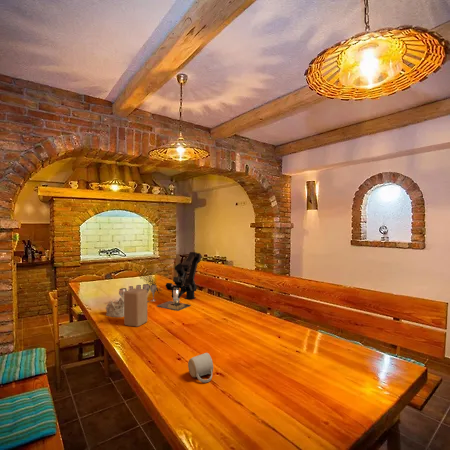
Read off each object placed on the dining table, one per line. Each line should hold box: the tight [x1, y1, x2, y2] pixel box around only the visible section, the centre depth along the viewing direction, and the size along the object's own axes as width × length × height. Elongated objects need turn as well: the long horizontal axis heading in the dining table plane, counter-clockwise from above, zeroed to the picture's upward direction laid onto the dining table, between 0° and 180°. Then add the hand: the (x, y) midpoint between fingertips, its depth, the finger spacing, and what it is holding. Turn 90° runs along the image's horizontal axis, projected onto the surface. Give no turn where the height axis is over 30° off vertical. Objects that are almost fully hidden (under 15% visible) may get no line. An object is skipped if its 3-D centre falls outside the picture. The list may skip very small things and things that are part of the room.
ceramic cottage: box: [105, 293, 124, 318], centre depth 193 cm, size 16×16×15 cm
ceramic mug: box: [187, 352, 214, 384], centre depth 113 cm, size 11×8×8 cm
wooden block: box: [123, 287, 148, 328], centre depth 173 cm, size 10×10×20 cm
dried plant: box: [128, 258, 163, 294], centre depth 249 cm, size 30×31×45 cm
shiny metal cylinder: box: [172, 287, 181, 306], centre depth 204 cm, size 4×4×13 cm
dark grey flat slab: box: [156, 300, 192, 312], centre depth 209 cm, size 14×20×3 cm
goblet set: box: [118, 283, 157, 303], centre depth 218 cm, size 28×6×13 cm, turn 123°
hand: (175, 297), depth 202 cm, fingers closed on shiny metal cylinder, 4 cm apart
